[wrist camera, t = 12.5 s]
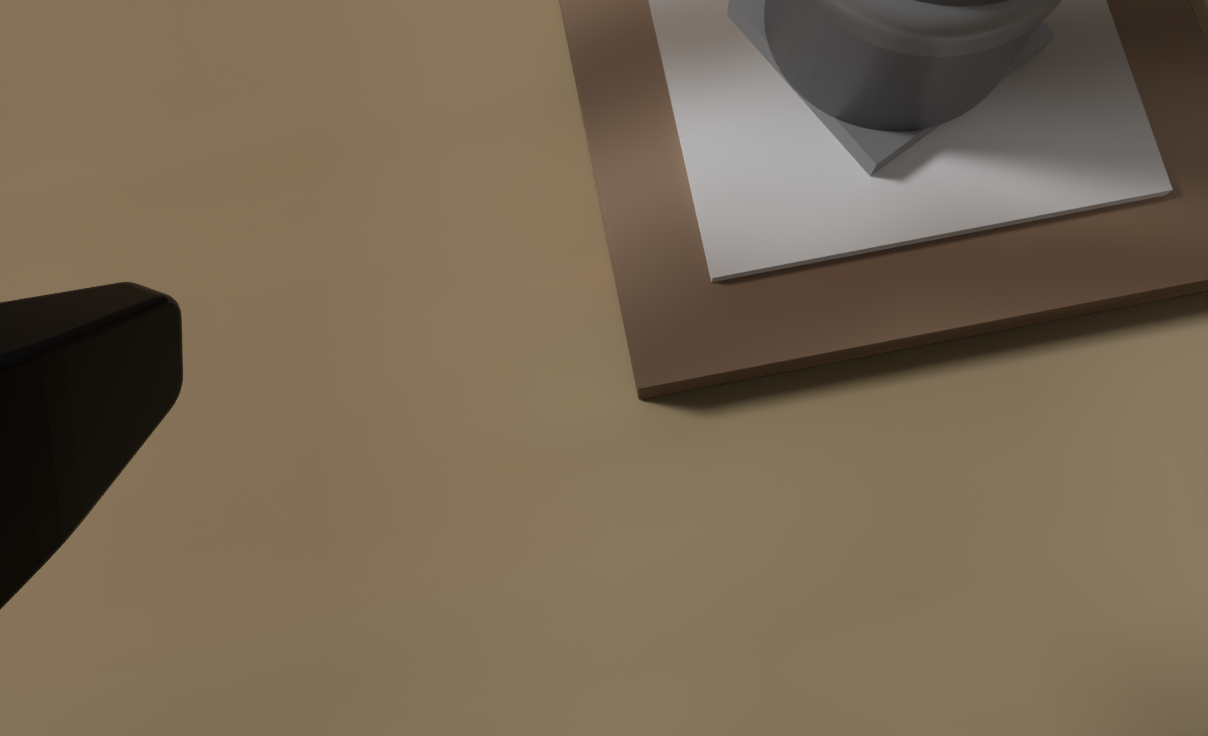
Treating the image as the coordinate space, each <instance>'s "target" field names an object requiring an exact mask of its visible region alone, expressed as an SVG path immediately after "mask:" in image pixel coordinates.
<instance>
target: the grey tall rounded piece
mask: <svg viewBox="0 0 1208 736" xmlns="http://www.w3.org/2000/svg"><path fill="white" fill-rule="evenodd" d="M1061 1H1062V0H729V4H728V11H727V16H728V17H729V18H730V19H731V20H732V21H733V23H734V24H735V25H736V26H737V27H738V28H739V29H740V30H741V32H742V33H743V34H744V35H745V36H746V37H747V38H748V39H749V41H750V42H751V43H752V44H753V45H754V46H755V47H756V48H757V50H758V51H759V52H760V53H761V54H762V55H763V56H764V57H765V59H766V60H767V61H768V62H769V63H770V64H771V65H772V66H773V68H774V69H775V70H776V71H777V72H778V73H779V74H780V76H781V77H782V78H783V79H784V80H785V81H786V82H787V83H788V85H789V86H790V87H791V88H792V89H793V90H794V91H795V92H796V94H797V95H798V96H799V97H800V98H801V99H802V100H803V101H804V103H805V104H806V105H807V106H808V107H809V108H810V109H811V110H812V112H813V113H814V114H815V115H816V116H817V117H818V118H819V119H820V121H821V122H822V123H823V124H824V125H825V126H826V127H827V128H828V130H829V131H830V132H831V133H832V134H833V135H834V136H835V138H836V139H837V140H838V141H839V142H840V143H841V144H842V145H843V147H844V148H845V149H846V150H847V151H848V152H849V153H850V154H851V156H852V157H853V158H854V159H855V160H856V161H857V162H858V163H859V165H860V166H861V167H862V168H863V169H864V170H865V171H866V172H867V174H868V175H869V176H871V175H873V174H874V173H876V172H877V171H878V170H880V169H881V168H882V167H884V166H885V165H886V164H888V163H889V162H891V161H892V160H893V159H895V158H896V157H897V156H899V155H900V154H902V153H903V152H904V151H906V150H907V149H908V148H910V147H911V146H912V145H914V144H915V143H917V142H918V141H919V140H921V139H922V138H923V137H925V136H926V135H927V134H929V133H930V132H932V131H933V130H934V129H936V128H937V127H938V126H940V125H941V124H943V123H946V122H948V121H950V120H952V119H955V118H957V117H959V116H961V115H963V114H964V113H966V112H967V111H969V110H971V109H972V108H974V107H975V106H976V105H978V104H979V103H980V102H981V101H982V100H983V99H985V98H986V97H987V96H988V95H989V94H990V93H991V91H992V90H993V89H994V88H995V87H996V86H997V85H998V83H999V82H1000V81H1001V80H1003V79H1004V78H1005V77H1007V76H1008V75H1009V74H1011V73H1012V72H1013V71H1015V70H1016V69H1018V68H1019V67H1020V66H1022V65H1023V64H1024V63H1026V62H1027V61H1028V60H1030V59H1031V58H1033V57H1034V56H1035V55H1037V54H1038V53H1039V52H1041V51H1042V50H1044V49H1045V47H1046V46H1047V44H1048V43H1049V42H1050V40H1051V39H1052V38H1053V36H1054V35H1055V33H1054V32H1053V31H1052V30H1051V29H1050V28H1049V27H1048V26H1047V25H1046V24H1045V23H1044V22H1043V20H1044V19H1045V18H1046V17H1047V16H1049V15H1050V13H1051V12H1052V11H1053V10H1054V9H1055V8H1056V7H1057V6H1058V5H1059V3H1060V2H1061Z"/></svg>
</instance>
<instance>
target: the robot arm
mask: <svg viewBox="0 0 1208 736" xmlns="http://www.w3.org/2000/svg"><path fill="white" fill-rule="evenodd" d="M182 382H183V355H182V318H181V310H180V308H179V305H178V303H177V302H176V300H174V299H173V298H172V297H171V296H169V295H167V294H164V293H161V292H159V291H156V290H153V289H150V288H148V287H145V286H142V285H139V284H136V283H132V282H121V283H115V284H109V285H103V286H97V287H91V288H85V289H79V290H73V291H67V292H61V293H55V294H49V295H43V296H37V297H31V298H25V299H19V300H13V301H7V302H1V303H0V609H1V608H2V607H3V606H4V605H5V604H6V603H7V602H8V601H9V600H10V599H11V598H12V597H13V596H14V595H15V594H16V593H17V592H18V591H19V590H20V589H21V588H22V587H23V586H24V585H25V584H26V583H27V582H28V581H29V580H30V579H31V578H32V577H33V575H34V574H35V573H36V572H37V571H38V570H39V569H40V568H41V567H42V566H43V565H44V564H45V563H46V562H47V561H48V560H49V559H50V558H51V557H52V555H53V554H54V553H55V552H56V551H57V550H58V549H59V548H60V547H61V546H62V545H63V544H64V542H65V541H66V540H67V539H68V538H69V537H70V535H71V534H72V533H73V532H74V531H75V529H76V528H77V527H78V526H79V525H80V524H81V522H82V521H83V520H84V519H85V517H86V516H87V515H88V514H89V512H90V511H91V510H92V509H93V507H94V506H95V505H96V503H97V502H98V501H99V500H100V498H101V497H102V496H103V495H104V493H105V492H106V491H107V489H108V488H109V487H110V486H111V484H112V483H113V482H114V481H115V479H116V478H117V477H118V476H119V474H120V473H121V472H122V470H123V469H124V468H125V467H126V465H127V464H128V463H129V462H130V460H131V459H132V458H133V456H134V455H135V454H136V453H137V451H138V450H139V449H140V448H141V446H142V445H143V444H144V443H145V441H146V440H147V439H148V437H149V436H150V435H151V434H152V432H153V431H154V430H155V429H156V427H157V426H158V425H159V423H160V422H161V421H162V420H163V418H164V417H165V416H166V415H167V413H168V412H169V411H170V410H171V408H172V407H173V405H174V404H175V402H176V400H177V398H178V396H179V393H180V390H181V387H182Z"/></svg>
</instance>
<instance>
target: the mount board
mask: <svg viewBox="0 0 1208 736" xmlns="http://www.w3.org/2000/svg"><path fill="white" fill-rule="evenodd" d="M559 2H560V7H561V12H562V17H563V22H564V27H565V32H566V37H567V42H568V47H569V52H570V57H571V62H572V67H573V72H574V77H575V82H576V87H577V92H578V97H579V102H580V107H581V112H582V117H583V122H584V127H585V132H586V137H587V142H588V147H589V152H590V157H591V162H592V167H593V172H594V177H595V182H596V187H597V192H598V197H599V202H600V207H601V212H602V217H603V222H604V228H605V233H606V238H607V243H608V248H609V253H610V258H611V263H612V268H613V273H614V278H615V283H616V288H617V293H618V298H619V303H620V308H621V313H622V318H623V323H624V328H625V333H626V338H627V343H628V348H629V353H630V358H631V363H632V368H633V373H634V378H635V383H636V388H637V393H638V398H639V400H641V399H646V398H651V397H656V396H662V395H667V394H672V393H677V392H683V391H688V390H693V389H698V388H703V387H709V386H714V385H719V384H724V383H729V382H735V381H740V380H745V379H750V378H756V377H761V376H766V375H771V374H776V373H782V372H787V371H792V370H797V369H802V368H808V367H813V366H818V365H823V364H829V363H834V362H839V361H844V360H849V359H855V358H860V357H865V356H870V355H875V354H881V353H886V352H891V351H896V350H902V349H907V348H912V347H917V346H922V345H928V344H933V343H938V342H943V341H948V340H954V339H959V338H964V337H969V336H975V335H980V334H985V333H990V332H995V331H1001V330H1006V329H1011V328H1016V327H1021V326H1027V325H1032V324H1037V323H1042V322H1047V321H1053V320H1058V319H1063V318H1068V317H1074V316H1079V315H1084V314H1089V313H1094V312H1100V311H1105V310H1110V309H1115V308H1120V307H1126V306H1131V305H1136V304H1141V303H1147V302H1152V301H1157V300H1162V299H1167V298H1173V297H1178V296H1183V295H1188V294H1193V293H1199V292H1204V291H1208V48H1207V45H1206V43H1205V40H1204V37H1203V35H1202V32H1201V29H1200V26H1199V24H1198V21H1197V18H1196V16H1195V13H1194V10H1193V8H1192V5H1191V2H1190V0H1062V1H1061V2H1060V3H1059V5H1058V6H1057V7H1056V8H1055V9H1054V10H1053V11H1052V12H1051V13H1050V15H1049V16H1047V17H1046V18H1045V19H1044V20H1043V22H1044V23H1045V24H1046V25H1047V26H1048V27H1049V28H1050V29H1051V30H1052V31H1053V32H1054V33H1055V35H1054V36H1053V38H1052V39H1051V40H1050V42H1049V43H1048V44H1047V46H1046V47H1045V49H1044V50H1042V51H1041V52H1039V53H1038V54H1037V55H1035V56H1034V57H1033V58H1031V59H1030V60H1028V61H1027V62H1026V63H1024V64H1023V65H1022V66H1020V67H1019V68H1018V69H1016V70H1015V71H1013V72H1012V73H1011V74H1009V75H1008V76H1007V77H1005V78H1004V79H1003V80H1001V81H1000V82H999V83H998V85H997V86H996V87H995V88H994V89H993V90H992V91H991V93H990V94H989V95H988V96H987V97H986V98H985V99H983V100H982V101H981V102H980V103H979V104H978V105H976V106H975V107H974V108H972V109H971V110H969V111H967V112H966V113H964V114H963V115H961V116H959V117H957V118H955V119H952V120H950V121H948V122H946V123H943V124H941V125H940V126H938V127H937V128H936V129H934V130H933V131H932V132H930V133H929V134H927V135H926V136H925V137H923V138H922V139H921V140H919V141H918V142H917V143H915V144H914V145H912V146H911V147H910V148H908V149H907V150H906V151H904V152H903V153H902V154H900V155H899V156H897V157H896V158H895V159H893V160H892V161H891V162H889V163H888V164H886V165H885V166H884V167H882V168H881V169H880V170H878V171H877V172H876V173H874V174H873V175H871V176H869V175H868V174H867V172H866V171H865V170H864V169H863V168H862V167H861V166H860V165H859V163H858V162H857V161H856V160H855V159H854V158H853V157H852V156H851V154H850V153H849V152H848V151H847V150H846V149H845V148H844V147H843V145H842V144H841V143H840V142H839V141H838V140H837V139H836V138H835V136H834V135H833V134H832V133H831V132H830V131H829V130H828V128H827V127H826V126H825V125H824V124H823V123H822V122H821V121H820V119H819V118H818V117H817V116H816V115H815V114H814V113H813V112H812V110H811V109H810V108H809V107H808V106H807V105H806V104H805V103H804V101H803V100H802V99H801V98H800V97H799V96H798V95H797V94H796V92H795V91H794V90H793V89H792V88H791V87H790V86H789V85H788V83H787V82H786V81H785V80H784V79H783V78H782V77H781V76H780V74H779V73H778V72H777V71H776V70H775V69H774V68H773V66H772V65H771V64H770V63H769V62H768V61H767V60H766V59H765V57H764V56H763V55H762V54H761V53H760V52H759V51H758V50H757V48H756V47H755V46H754V45H753V44H752V43H751V42H750V41H749V39H748V38H747V37H746V36H745V35H744V34H743V33H742V32H741V30H740V29H739V28H738V27H737V26H736V25H735V24H734V23H733V21H732V20H731V19H730V18H729V17H728V16H727V11H728V4H729V0H559Z"/></svg>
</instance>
